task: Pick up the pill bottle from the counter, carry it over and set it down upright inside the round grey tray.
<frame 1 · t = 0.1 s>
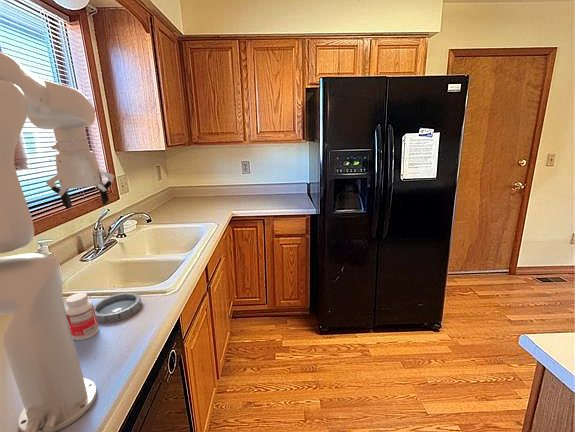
hand: (87, 205, 96), 31 cm above the counter, tool pointing down, fingers open, 9 cm apart
round grey tray: (117, 310, 97), on the counter
pill bottle: (86, 334, 86), on the counter
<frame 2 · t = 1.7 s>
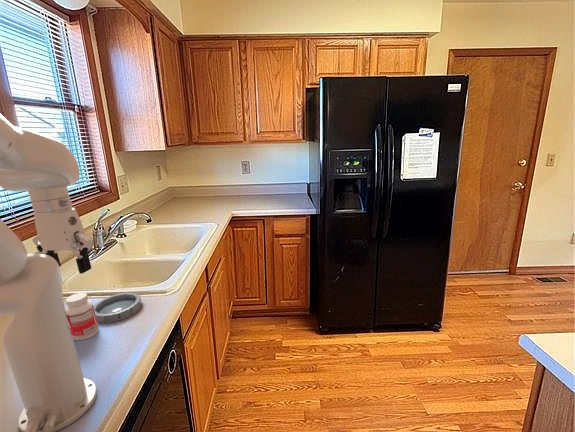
hand: (70, 270, 82), 18 cm above the counter, tool pointing down, fingers open, 9 cm apart
nothing on the counter moved.
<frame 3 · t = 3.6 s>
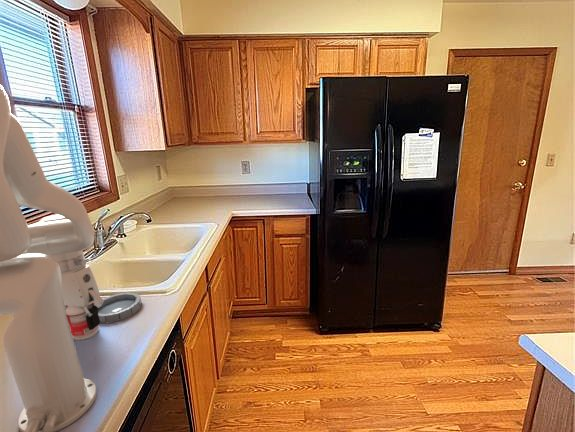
hand: (83, 325, 86), 3 cm above the counter, tool pointing down, fingers closed on pill bottle, 6 cm apart
pill bottle: (86, 334, 86), on the counter, touching gripper
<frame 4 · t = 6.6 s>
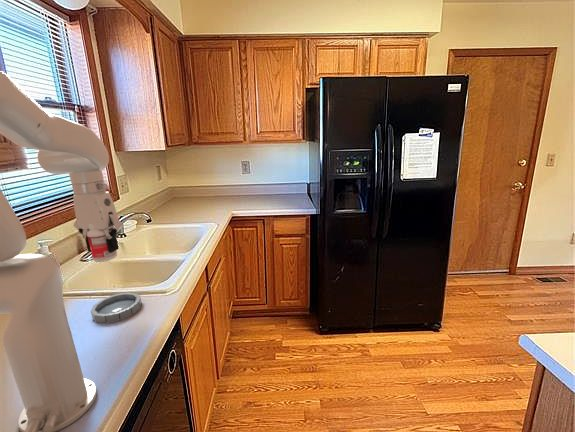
hand: (103, 249, 92), 20 cm above the counter, tool pointing down, fingers closed on pill bottle, 6 cm apart
pill bottle: (105, 259, 93), point 17 cm above the counter, touching gripper
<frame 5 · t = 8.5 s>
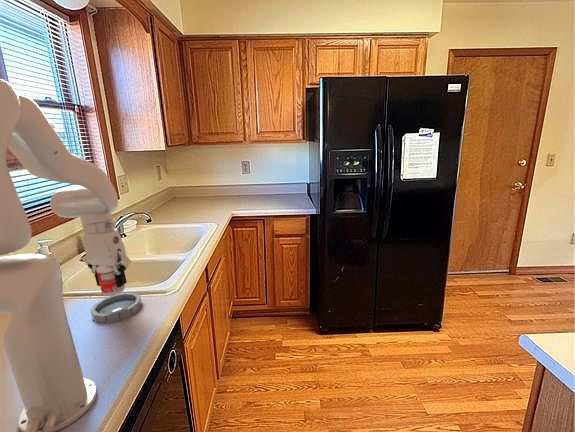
hand: (112, 283, 95), 9 cm above the counter, tool pointing down, fingers closed on pill bottle, 6 cm apart
pill bottle: (114, 292, 96), point 6 cm above the counter, touching gripper
when the fingers open (5 cm above the counter, at t = 9.8 s): pill bottle drops 1 cm, resting on round grey tray.
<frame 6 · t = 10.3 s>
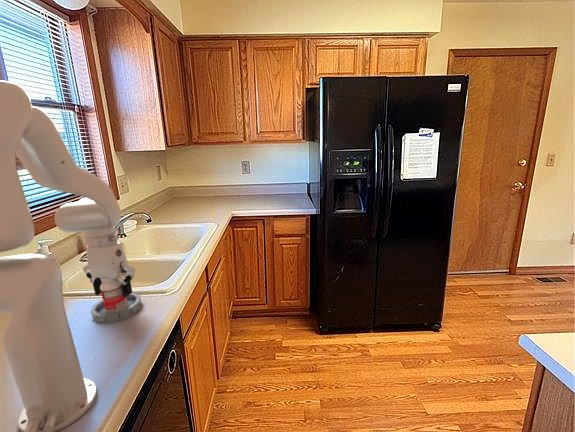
hand: (114, 293, 96), 5 cm above the counter, tool pointing down, fingers open, 9 cm apart
pill bottle: (117, 309, 97), resting on round grey tray
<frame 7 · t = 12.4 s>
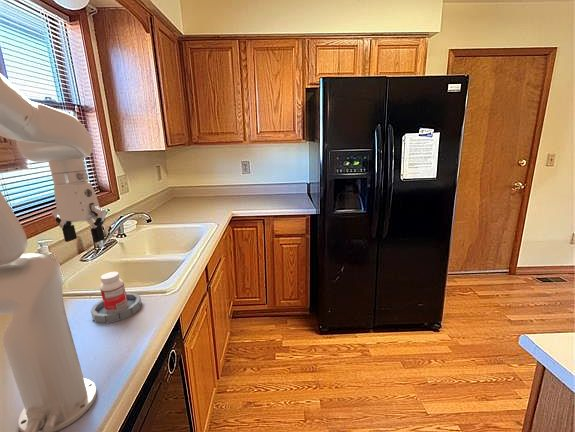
hand: (85, 240, 88), 23 cm above the counter, tool pointing down, fingers open, 9 cm apart
nothing on the counter moved.
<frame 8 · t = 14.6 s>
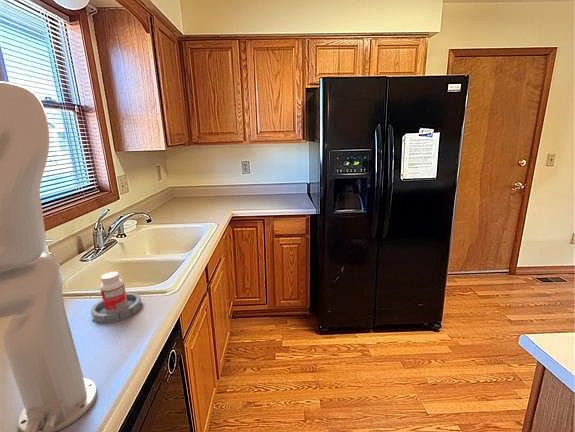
nothing on the counter moved.
at the end: pill bottle 0.2 cm off-centre on the round grey tray, point 0.4 cm above the round grey tray's base; pill bottle tilted 0°; the gripper is holding nothing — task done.
